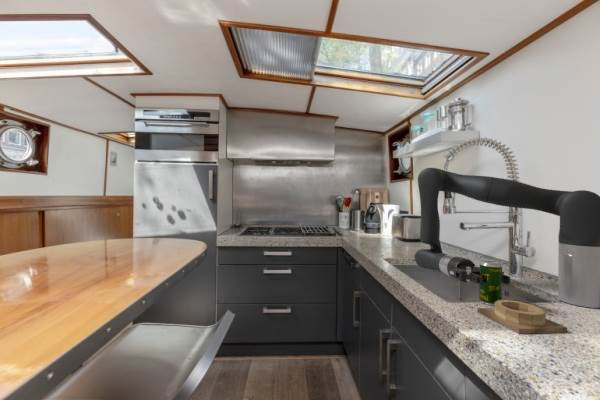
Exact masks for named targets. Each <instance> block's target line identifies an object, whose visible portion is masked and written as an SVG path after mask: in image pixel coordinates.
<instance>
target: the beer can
mask: <svg viewBox="0 0 600 400" xmlns="http://www.w3.org/2000/svg"><path fill="white" fill-rule="evenodd" d="M479 267H480V276H482V277H483V284H479V293H478V294H479V296H478V297H479V298H478V299H479V301H480V303H481V304H483V303H488V304H486V305H487V306H489V305H490V306H489V307H495V302H496V301H498V300H503V282H502V271H503V265H502V262H500V261H497V260H492V259H490V260H489V259H480V263H479Z"/></svg>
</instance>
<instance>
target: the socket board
mask: <svg viewBox="0 0 600 400" xmlns="http://www.w3.org/2000/svg"><path fill="white" fill-rule="evenodd" d="M477 313H478V314H480V315H483V316H484V317H486V318H488V319H490V320H492V321H494V322H496V323H498V324H500V325H502V326H504V327H506V328H507V329H509V330H511V331H513V332H515V333H517V334H540V333H541V334H543V333H544V334H545V333H547V334H548V333H551V334H552V333H567V332H568V326H565V325H563V324H560V323H558V322H555V321H552V320H550V319H547V318H546V315H547V314H546V313H547V312H546V311H545V310H544V309H543V308H542V307H539V306H536V305H533V304H531V303H527V302H526V303H525V302H522V301H517V300H511V299H510V300H509V299H502V300H498V301H496V302H495V306H494V307H479V308H477Z"/></svg>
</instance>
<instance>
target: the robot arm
mask: <svg viewBox="0 0 600 400" xmlns="http://www.w3.org/2000/svg"><path fill="white" fill-rule="evenodd" d="M417 185H418V193H419V198H420V199H419V200H420V201H419V202H420V203H419V204H420V225H419V227H420V228H419V241H420V242H421V243H422V244H426V245H429V248H425V249H423V248H422V249H418V250H417V251H416V252H415V253H414V261H415V263H416V265H417V266H419V267H420V268H423V269H427V270H432V271H437V272H439V273H442V274H444V275H446V276H448V277H450V278H453V279H455V280H457V281H461V282H463V283H468V282H473V283H475V284H478V285H480V284H483V277H482V276H480V266H477V265H475V264H476V263H474V261H472V260H470V259H468V258H465V257H461V256H457V255H454V254H448V253H444V252H443V249H442V245H441V241H440V240H441V239H440V236H441V235H440V234H441V232H440V231H441V222H440V221H441V219H440V215H439V214H440V213H439V208H438V207H439V193H440V192H445V193H453V194H457V195H461V196H464V197H467V198H470V199H472V200H476V201H479V202H483V203H486V204H491V205H496V206H501V207H502V206H503V207H506V208H507V207H509V208H516V209H525V210H535V211H539V212H543V213H548V214H551V215H555V216H558V217H559V229H558V235H557V238H558V249H557V250H558V252H557V253H558V256H557V257H558V266H557V267H558V272H557V273H558V277H557V280H558V281H557V282H558V284H557V286H558V287H557V293H558V296H557V299H558V300H559V301H562V302H564V303H566V304H570V305H573V306H574V305H575V306H578V307H579V306H580V307H583V308H585V307H586V308H589V309H590V308H593V309H595V308H596V309H598V308H599V309H600V195H599V194H598V193H595V192H594V191H589V190H583V189H581V190H574V191H572V190H571V191H570V190H569V191H567V190H557V189H556V190H555V189H549V188H548V189H546V188H542V187H538V186H533V185H531V184H528V183H524V182H521V181H516V180H512V179H506V178H503V177H502V178H501V177H495V176H485V175H473V174H472V175H470V174H469V175H468V174H460V173H456V172H451V171H448V170H444V169H441V168H437V167H426V168H424V169H422V170H421V171H420V172H419V174H418V176H417ZM502 284H506V285H510V284H511V276H509V275H506V274H505V272H504V271H503V270H502Z"/></svg>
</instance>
